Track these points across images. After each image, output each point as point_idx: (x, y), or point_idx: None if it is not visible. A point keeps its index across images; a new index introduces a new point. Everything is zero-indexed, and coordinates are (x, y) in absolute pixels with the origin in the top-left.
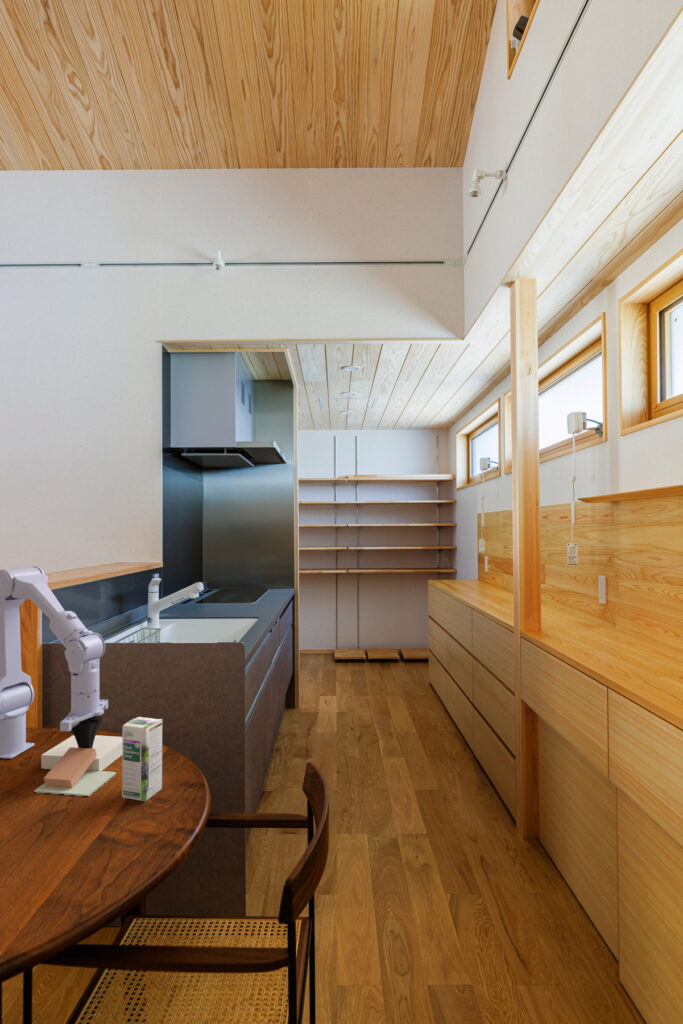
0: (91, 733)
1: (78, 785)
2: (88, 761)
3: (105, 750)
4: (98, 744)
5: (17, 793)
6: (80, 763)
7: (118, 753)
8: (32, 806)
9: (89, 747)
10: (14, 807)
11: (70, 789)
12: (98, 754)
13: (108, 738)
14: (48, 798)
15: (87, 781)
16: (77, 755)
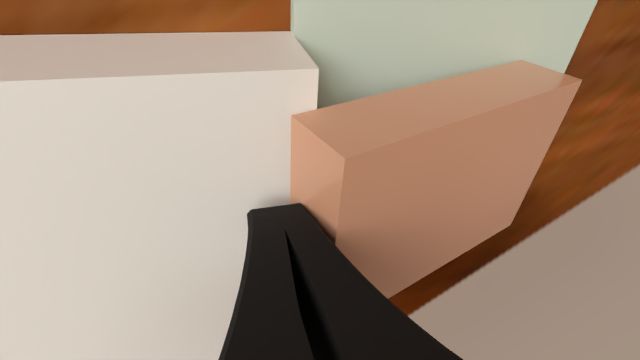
0: (382, 357)
1: (499, 43)
2: (418, 110)
3: (115, 133)
4: (29, 270)
5: (487, 246)
6: (478, 136)
7: None
8: (611, 131)
9: (312, 229)
10: (591, 184)
11: (534, 60)
12: (226, 137)
13: None
14: (564, 116)
15: (451, 18)
16: (404, 225)
